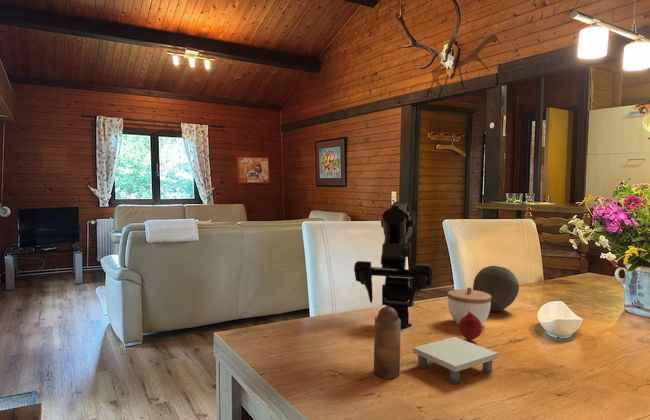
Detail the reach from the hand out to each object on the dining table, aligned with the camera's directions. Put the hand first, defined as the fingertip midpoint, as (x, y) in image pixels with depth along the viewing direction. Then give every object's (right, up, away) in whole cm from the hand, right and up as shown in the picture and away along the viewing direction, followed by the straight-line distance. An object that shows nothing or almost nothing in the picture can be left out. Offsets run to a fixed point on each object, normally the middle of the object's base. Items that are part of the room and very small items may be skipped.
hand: (390, 303), depth 99 cm
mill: (-2, -14, -7) cm, 16 cm away
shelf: (+14, -14, -4) cm, 20 cm away
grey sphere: (+42, -12, +44) cm, 62 cm away
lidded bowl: (+28, -13, +29) cm, 43 cm away
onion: (+24, -13, +14) cm, 31 cm away
